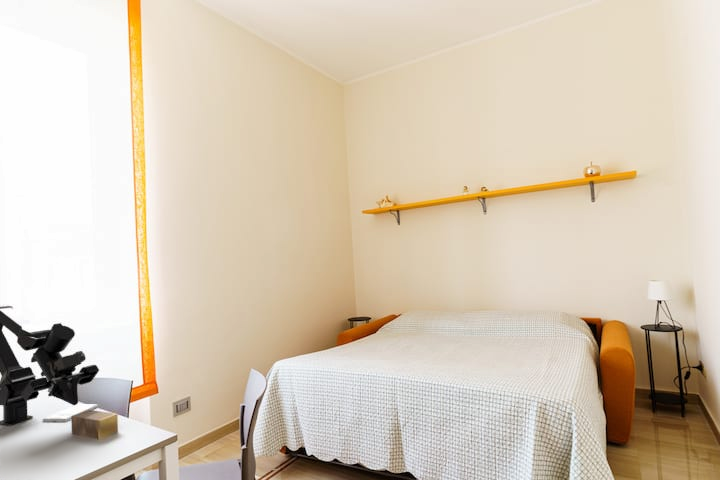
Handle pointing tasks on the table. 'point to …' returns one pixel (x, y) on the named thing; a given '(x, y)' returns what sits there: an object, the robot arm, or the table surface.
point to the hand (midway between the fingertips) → (76, 404)
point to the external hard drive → (69, 413)
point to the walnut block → (94, 424)
